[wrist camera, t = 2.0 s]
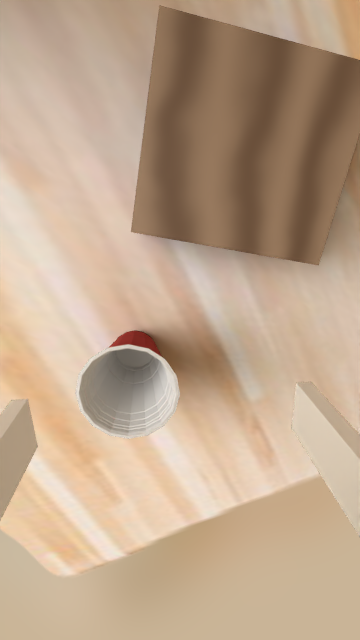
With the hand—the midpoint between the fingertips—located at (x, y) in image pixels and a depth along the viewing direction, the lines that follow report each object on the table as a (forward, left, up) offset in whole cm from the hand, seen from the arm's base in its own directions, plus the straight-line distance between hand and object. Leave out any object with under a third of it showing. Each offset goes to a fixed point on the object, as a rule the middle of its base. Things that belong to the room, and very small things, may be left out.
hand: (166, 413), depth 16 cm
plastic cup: (-2, -9, -28) cm, 29 cm away
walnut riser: (+6, +16, -27) cm, 32 cm away
